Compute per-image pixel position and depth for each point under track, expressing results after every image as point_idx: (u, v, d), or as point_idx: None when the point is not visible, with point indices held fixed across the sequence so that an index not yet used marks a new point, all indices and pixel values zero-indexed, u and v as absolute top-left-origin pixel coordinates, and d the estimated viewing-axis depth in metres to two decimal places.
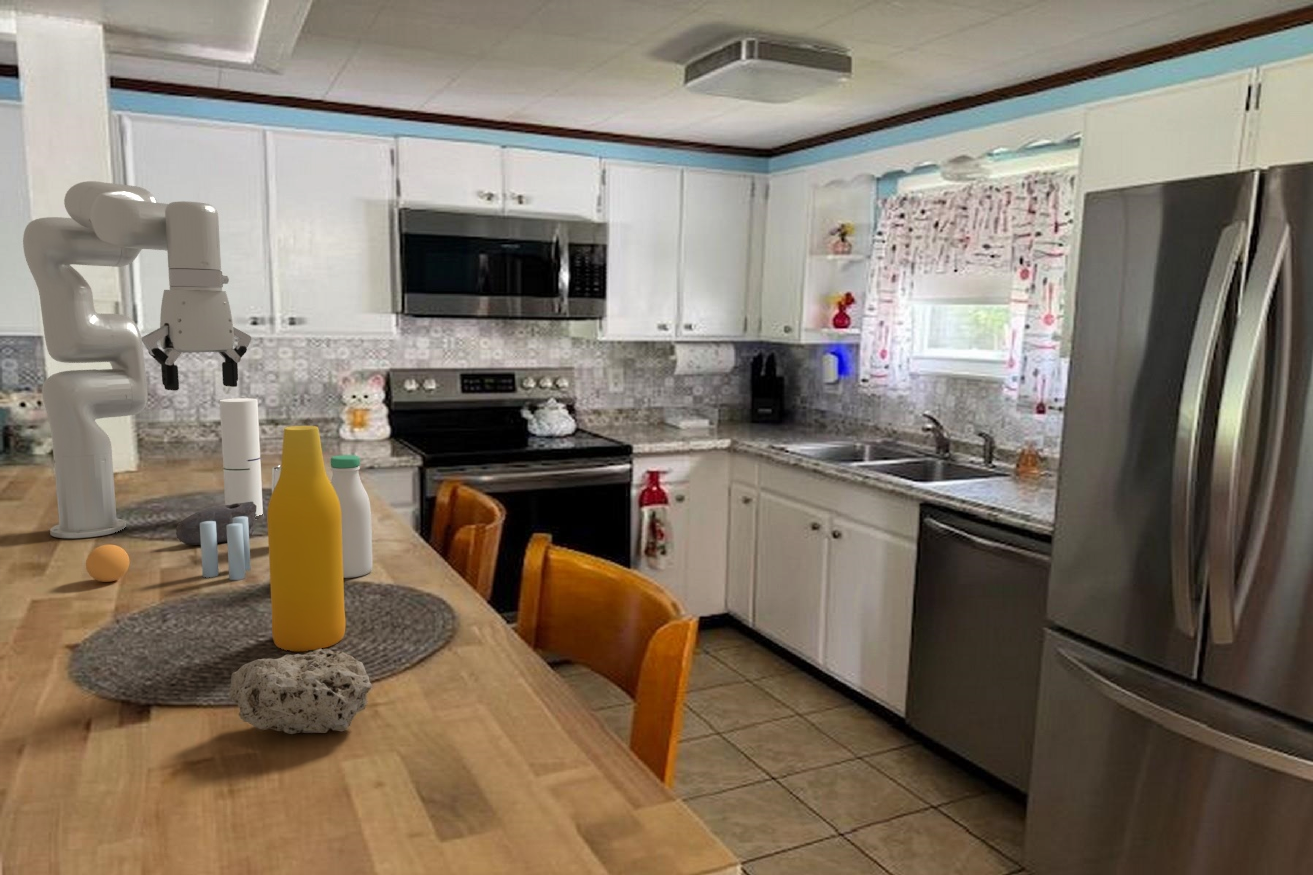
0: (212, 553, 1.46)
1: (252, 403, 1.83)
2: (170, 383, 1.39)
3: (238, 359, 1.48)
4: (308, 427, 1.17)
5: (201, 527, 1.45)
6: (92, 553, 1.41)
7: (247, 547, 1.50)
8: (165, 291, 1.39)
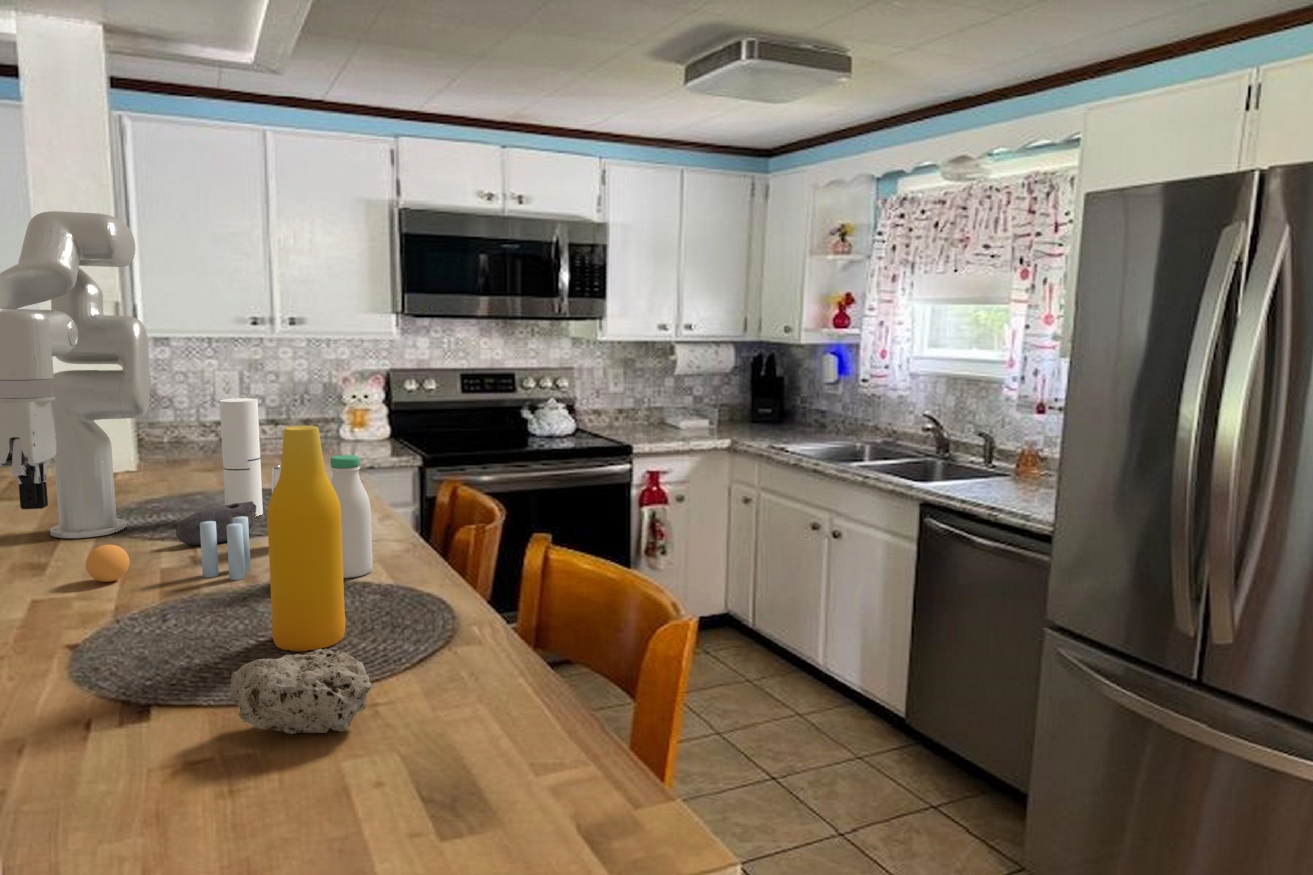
0: (212, 553, 1.46)
1: (252, 403, 1.83)
2: (36, 502, 1.38)
3: (45, 477, 1.40)
4: (308, 427, 1.17)
5: (201, 527, 1.45)
6: (92, 553, 1.41)
7: (247, 547, 1.50)
8: (7, 404, 1.32)
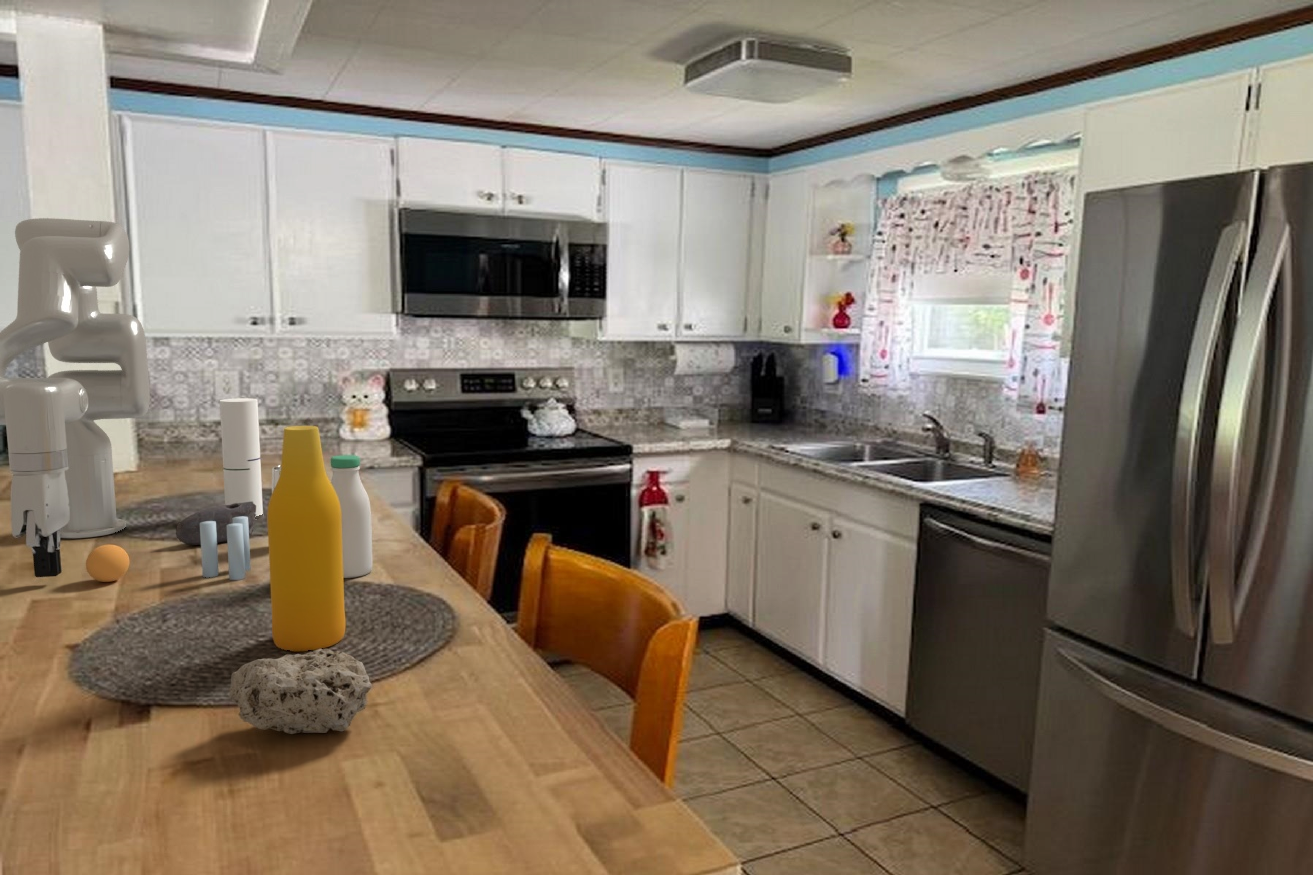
0: (212, 553, 1.46)
1: (252, 403, 1.83)
2: (50, 570, 1.40)
3: (58, 545, 1.42)
4: (308, 427, 1.17)
5: (201, 527, 1.45)
6: (92, 553, 1.41)
7: (247, 547, 1.50)
8: (21, 477, 1.34)
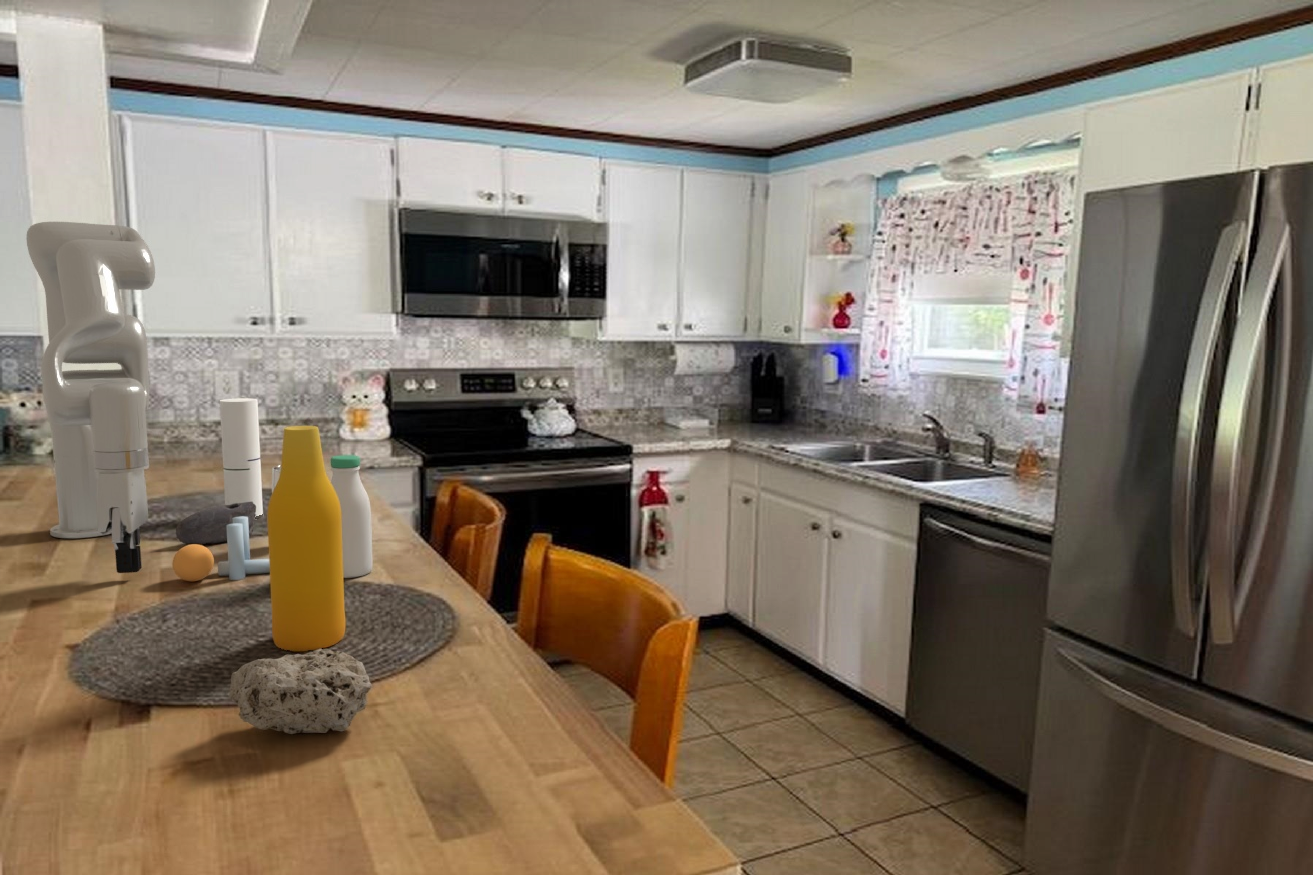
0: (245, 573, 1.48)
1: (252, 403, 1.83)
2: (131, 566, 1.43)
3: (138, 541, 1.45)
4: (308, 427, 1.17)
5: None
6: None
7: (247, 547, 1.50)
8: (107, 475, 1.37)
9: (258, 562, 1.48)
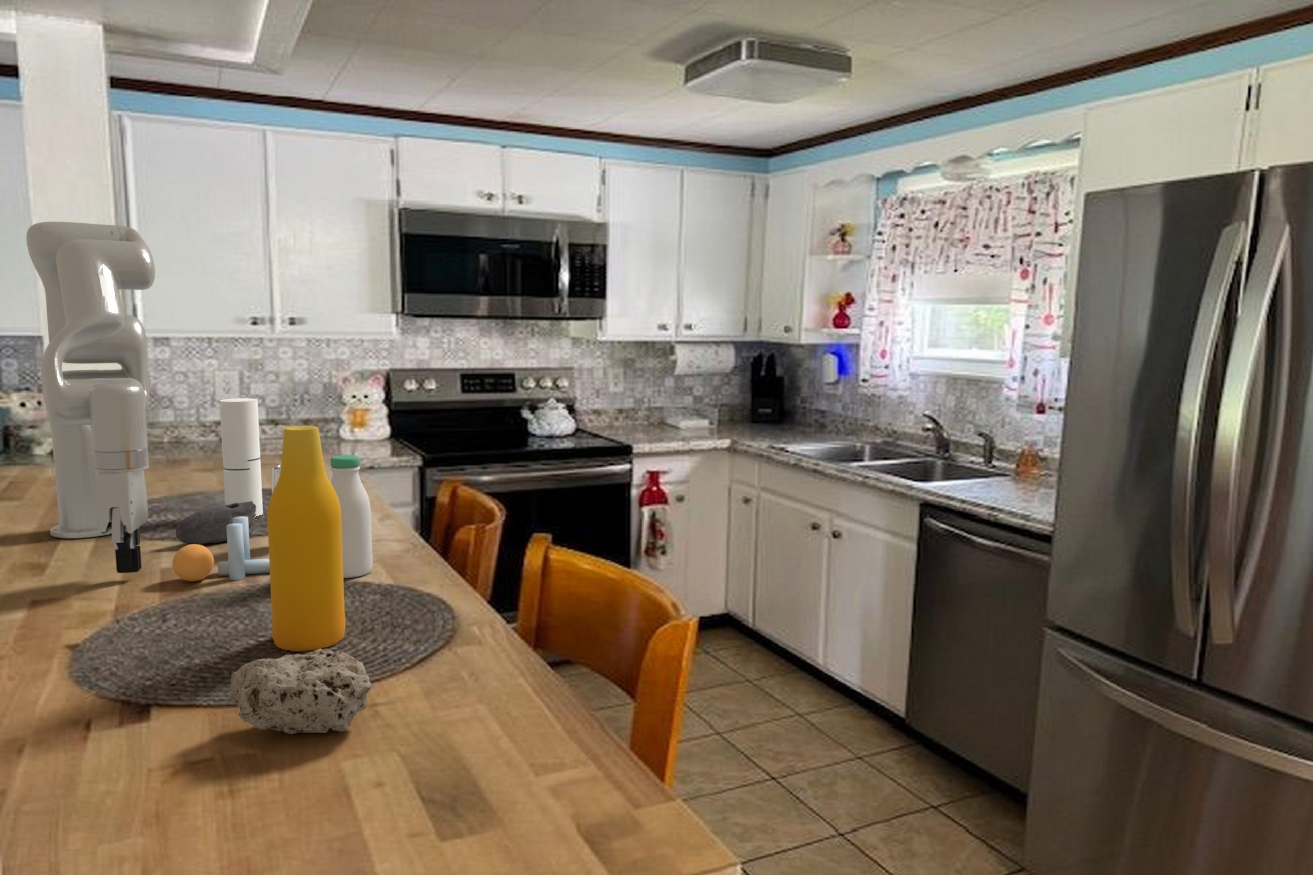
0: None
1: (252, 403, 1.83)
2: (131, 566, 1.43)
3: (138, 541, 1.45)
4: (308, 427, 1.17)
5: None
6: None
7: (247, 547, 1.50)
8: (107, 475, 1.37)
9: (258, 562, 1.48)
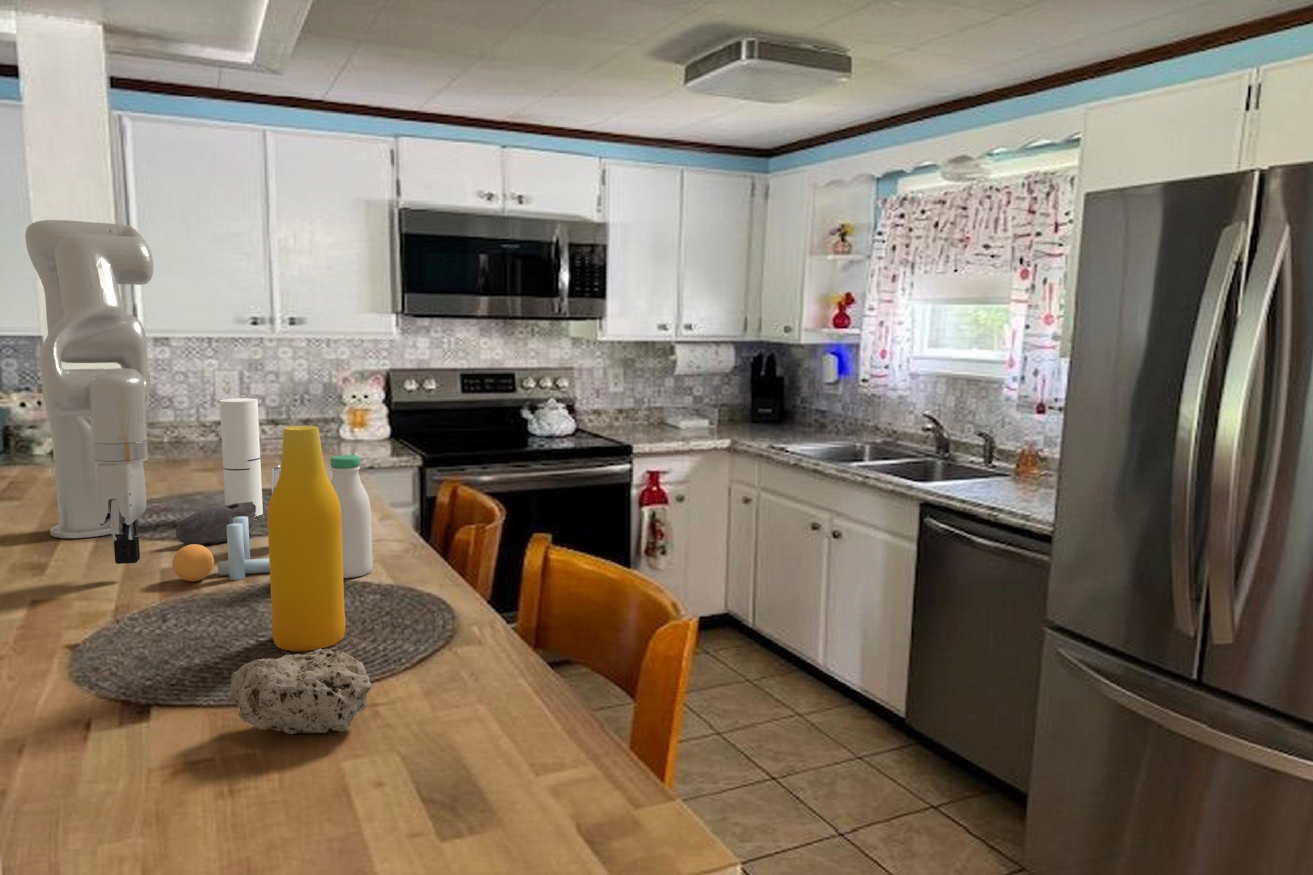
0: (245, 572, 1.48)
1: (252, 403, 1.83)
2: (130, 556, 1.43)
3: (137, 532, 1.45)
4: (308, 427, 1.17)
5: None
6: None
7: (247, 547, 1.50)
8: (106, 467, 1.37)
9: (258, 561, 1.48)
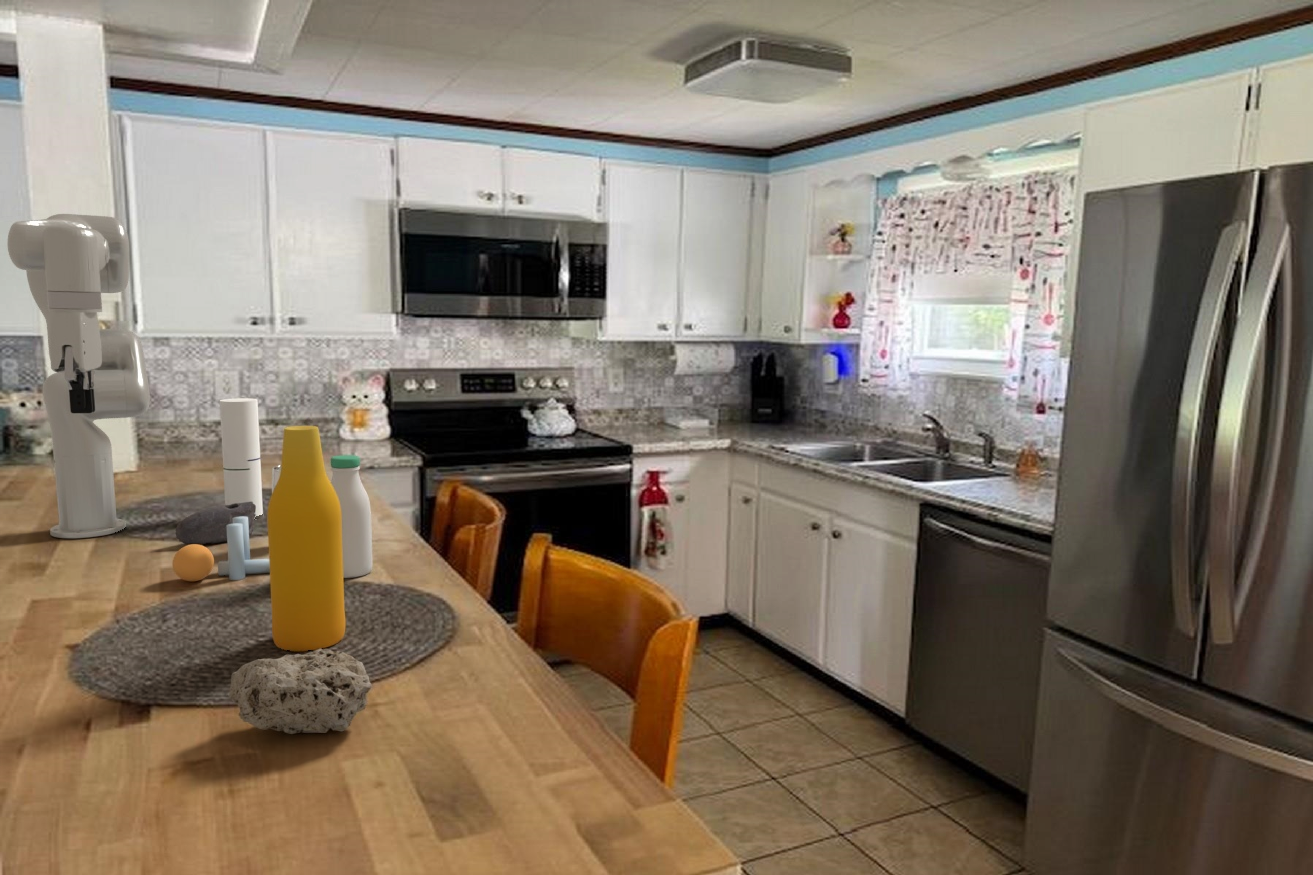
0: (245, 572, 1.48)
1: (252, 403, 1.83)
2: (85, 406, 1.48)
3: (92, 385, 1.50)
4: (308, 427, 1.17)
5: None
6: None
7: (247, 547, 1.50)
8: (60, 313, 1.42)
9: (258, 561, 1.48)
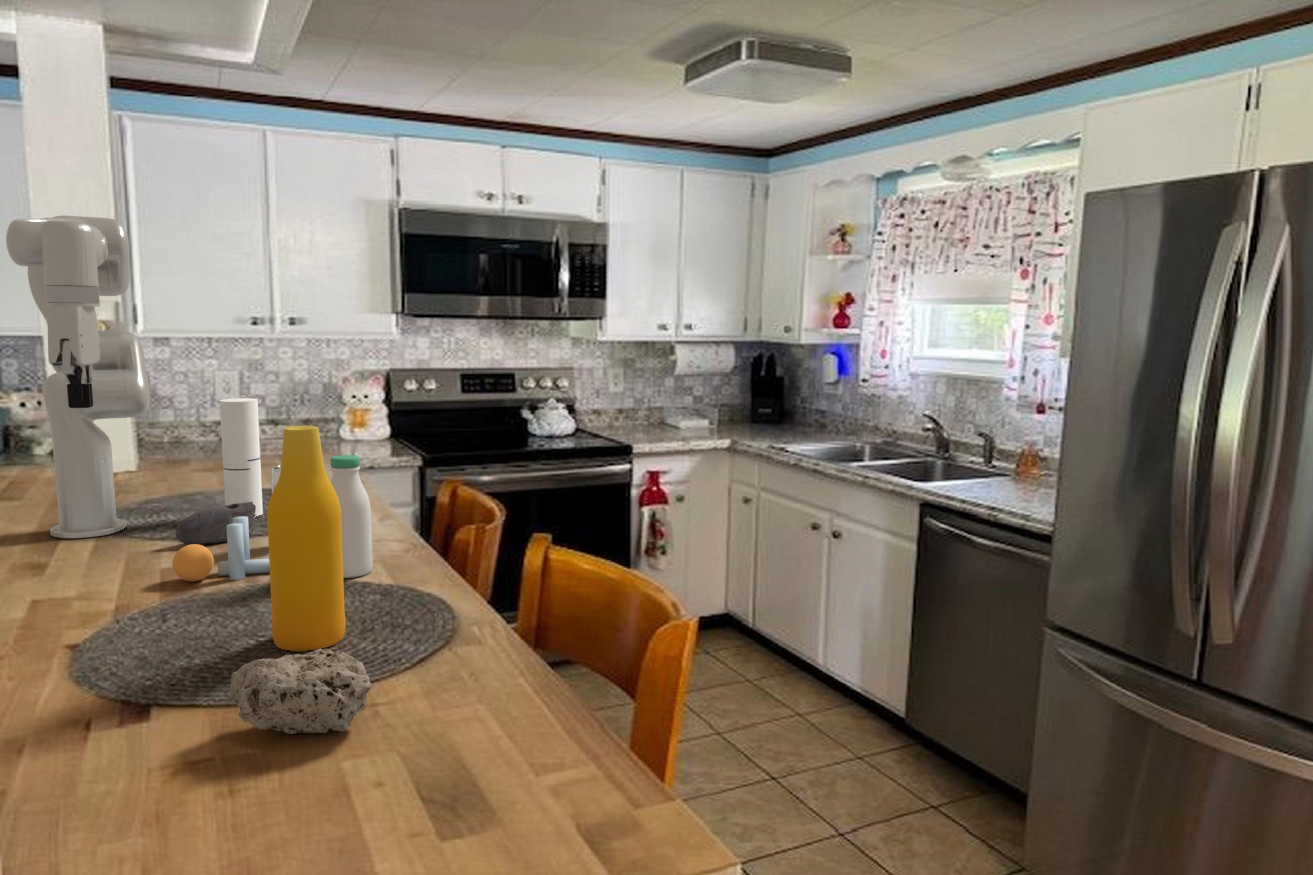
0: None
1: (252, 403, 1.83)
2: (83, 401, 1.48)
3: (90, 380, 1.50)
4: (308, 427, 1.17)
5: None
6: None
7: (247, 547, 1.50)
8: (58, 307, 1.42)
9: (258, 562, 1.48)
